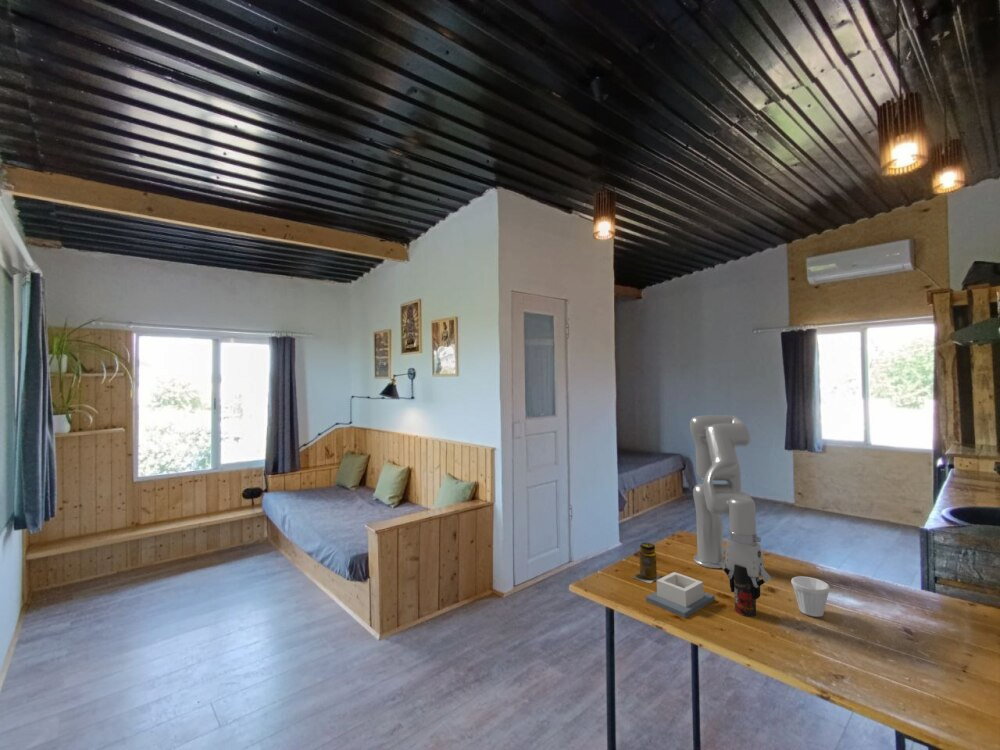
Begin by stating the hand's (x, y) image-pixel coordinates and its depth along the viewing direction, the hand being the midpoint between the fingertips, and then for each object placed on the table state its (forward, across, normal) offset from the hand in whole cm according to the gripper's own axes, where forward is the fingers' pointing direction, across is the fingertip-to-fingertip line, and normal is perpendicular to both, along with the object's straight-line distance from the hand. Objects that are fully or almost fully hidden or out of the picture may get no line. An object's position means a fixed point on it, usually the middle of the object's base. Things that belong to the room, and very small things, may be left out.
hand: (744, 594), depth 143 cm
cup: (+6, -13, -15) cm, 21 cm away
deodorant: (+6, 0, 0) cm, 6 cm away
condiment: (+6, +35, +2) cm, 36 cm away
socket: (+6, +17, +9) cm, 20 cm away
